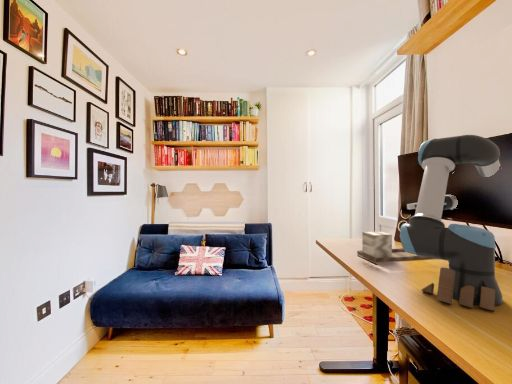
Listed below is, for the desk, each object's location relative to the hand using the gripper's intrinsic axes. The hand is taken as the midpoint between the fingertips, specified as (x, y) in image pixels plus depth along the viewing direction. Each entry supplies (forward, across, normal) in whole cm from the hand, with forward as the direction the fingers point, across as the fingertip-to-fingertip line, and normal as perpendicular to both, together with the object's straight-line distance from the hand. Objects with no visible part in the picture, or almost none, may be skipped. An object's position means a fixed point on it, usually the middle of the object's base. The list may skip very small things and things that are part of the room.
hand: (408, 206), depth 124 cm
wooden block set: (+26, -43, -28) cm, 57 cm away
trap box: (+3, +3, -26) cm, 27 cm away
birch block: (+19, +3, -24) cm, 30 cm away
